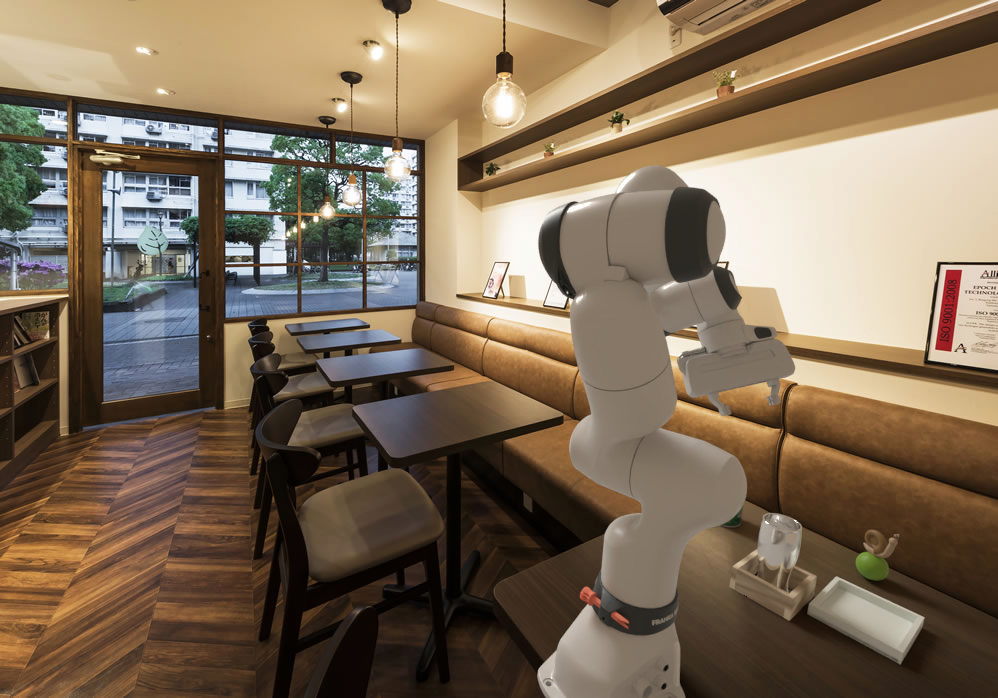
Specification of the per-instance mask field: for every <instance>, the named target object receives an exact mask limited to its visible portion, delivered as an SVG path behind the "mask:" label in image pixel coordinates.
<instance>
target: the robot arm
mask: <svg viewBox="0 0 998 698" xmlns="http://www.w3.org/2000/svg"><path fill="white" fill-rule="evenodd" d="M725 221H726V220H725V216H724V214H723V212H722V209H721V205H720V202H719V200H718V199H717V197H715V196H714V194H712V193H710V192H709V191H708V190H706V189H705V188H698V187H692V186H689V185H688V184H687V183H686V182H685V181H684V179H682V177H680V176H679V175H678V174H677V173H676V172H675V171H674V170H673V169H671V168H668V167H666V166H663V165H646V166H643V167H640V168H637V169H636V170H633V172H631V173H630V174H628V175H627V176H626V177H625V178H623V180H622V181H621V182H620V184H619V185H618V187H617V189H616V190H615V193H611V194H606V195H605V194H604V195H600V196H596V197H592V198H589V199H585V200H582V201H580V202H579V201H569V202H567V203H563V204H562V205H560V206H557V207H555V208H553V209H551V210H550V211H548V212H547V214H546V216H545V217H544V220H543V221H542V224H541V227H540V229H539V232H538V239H537V244H538V246H537V247H538V253H539V258H540V261H541V264H542V266H543V268H544V270H545V272H546V274H547V275H548V277H549V278H550V279H551V281H553V283H555V285H556V287H557V289H558V290H559V292H560V293H562V295H563V296H565V297H566V298H569V299H570V300H572V302H571V303H570V304H571V305H570V309H569V320H570V321H569V323H570V333H571V339H572V347H573V352H574V357H575V360H576V364H577V368H578V371H579V373H580V375H579V376H580V377H581V381H582V384H583V387H584V391H585V395H586V398H587V401H588V406H589V408H590V414H588V415H587V416H585V417H584V418H582V419H581V420H580V421H579V422H578V424H577V425H576V426H575V427H574V429H573V431H572V433H571V436H570V438H569V439H570V440H569V445H568V448H569V449H568V450H569V457H570V460H571V463H572V466H573V467H574V468H575V469H576V470H577V471H578V472H579V473H581V474H583V476H585V477H586V478H588V479H590V480H591V481H593V482H594V483H596V484H597V485H599V486H602V487H604V488H607V489H609V490H611V491H614V492H616V493H619V494H621V495H623V496H626V497H628V498H631V499H633V500H636V501H637V502H639V504H640V505H641V512H636V513H629V514H625V515H621V516H619V517H617V518H615V519H613V521H612V522H611V523H610V524H609V525H608V527H607V529H606V530H605V532H604V534H603V535H604V536H603V547H602V548H603V549H602V558H601V559H602V560H601V569H600V570H599V571H598V575H597V577H596V579H595V582H594V587H593V588H592V589H591V588H590V587H588V586H584V587H583V588H582V589H581V591H580V592H579V593H580V594H579V598H580V600H582V601H583V602H585V603H587V604H586V605H585V607H584V608H583V609H582V610H581V611H580V613H579V614H578V616H577V617H576V618H575V620H574V621H573V622H572V624H571V625H570V626H569V628H568V629H567V630H566V631H565V633H564V634H563V635H562V637H561V638H560V640H559V642H558V644H557V648H556V649H555V651H554V652H553V653H552V654H551V655H550V656H549V657H548V658H547V659H546V660H545V661H544V662H543V663H542V665H540V667H539V668H538V670H537V682H538V684H539V688H540V690H541V692H542V694H543V695H544V697H545V698H686V695H685V692H684V690H683V687H682V686H681V685H682V684H681V683H680V678H681V677H680V673H681V646H680V645H681V644H680V641H679V637H678V634H677V633H678V632H677V629H676V625H675V621H676V618H677V616H678V615H677V614H678V611H679V603H680V600H679V590H678V587H677V586H678V579H679V578H678V577H679V572H680V567H681V562H682V558H683V555H684V551H685V549H686V546H687V545H688V544H689V542H691V540H692V539H694V537H695V536H697V534H700V533H701V532H703V531H705V530H708V529H711V528H714V527H719V526H720V525H722V524H724V523H726V522H728V521H729V520H731V519H732V518H733V517H734V516H735V515H736V514H737V513H738V512H739V511H740V509H741V508H742V506H743V507H744V504H745V501H746V499H747V492H748V491H747V490H748V481H747V475H746V472H745V469H744V468H743V465H742V464H741V462H740V460H739V459H738V457H737V456H735V455H733V454H731V453H729V452H728V451H726V450H724V449H722V448H721V447H718V446H716V445H714V444H712V443H710V442H708V441H706V440H702V439H700V438H696V437H694V436H690V435H686V434H682V433H678V432H675V431H672V430H668V429H664V428H662V427H663V426H664V425H665V424H667V423H668V422H669V421H670V419H671V418H672V416H673V414H674V412H675V410H676V407H677V402H678V393H677V388H676V383H675V382H676V381H675V376H674V371H673V366H672V361H671V355H670V350H669V347H668V341H667V338H666V337H669V336H671V335H673V334H675V333H678V332H680V331H682V330H685V329H688V328H691V327H693V326H696V333H697V336H698V339H699V342H700V345H701V347H698V348H694V349H691V350H685V351H683V352H681V354H679V355H678V357H677V358H676V364H677V366H678V368H679V369H678V370H679V371H680V373H682V378H683V379H682V380H683V385H684V387H685V391H686V395H688V396H689V397H690V398H692V399H696V398H700V397H704V396H707V399H708V401H709V402H710V403H711V404H712V405H713V406H714V407H716V408H717V409H718V412H719V415H720V416H721V417H724V416H725V417H726V416H729V415H732V411H731V407H730V404H724V403H723V402H722V401H721V400H720V399H719V398H720V394H719V393H722V392H727V391H731V390H736V389H740V388H745V387H749V386H755V385H759V384H763V383H766V385H767V387H768V388H771V389H770V393H769V394H770V395H768V396H766V401H768V405H769V406H775V405H779V404H781V403H782V401H781V398H780V395H779V393H780V388H781V382H780V380H782V379H785V378H788V377H790V376H792V375H794V373H795V371H796V365H795V362H794V360H793V357H792V355H791V354H790V352H789V350H788V348H787V346H786V344H785V343H783V342H782V341H781V340H780V339H777V336H778V331H777V329H776V328H775V327H774V326H768V325H767V326H766V325H765V326H764V325H755V324H754V325H753V324H746V322H745V320H744V318H743V317H742V316H741V314H740V313H739V311H738V307H739V305H740V304H741V301H742V299H743V297H742V296H741V294H740V292H739V289H738V285H737V283H736V280H735V277H734V274H733V271H731V270H729V269H727V268H724V267H722V266H718V265H719V261H720V257H721V255H722V252H723V250H724V247H725V243H726V236H727V230H726V229H727V228H726V222H725Z"/></svg>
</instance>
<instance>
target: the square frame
mask: <svg viewBox="0 0 998 698" xmlns="http://www.w3.org/2000/svg"><path fill="white" fill-rule="evenodd" d="M758 568H759V563H758V547H757V548H756V549H754V550H753V551H751V552H750V553H749V554H748V555H746V556H745V557H744V558H742V559H740V560H739V561H738V562H736V563H735V564H733V565H732V566H731V572H730V579H729V588H730V589H732V590H734V591H736V592H737V593H738V594H741V595H742V596H744V595H745V596H744V597H746V596H747V597H746V598H748V599H749V600H751V601H753V602H755V603H757V604H759V605H760V606H762V607H764V608H766V609H768V610H769V611H771V612H773V613H775V614H776V615H778V616H780V617H782V618H783V619H785V620H787V621H789V622H790V621H791V620H792V619H793V618H794V617H795V616H796V615H797V614H798V613H799V612H800V611H801V610H802V609H803V608H804V607H805V606H806V605H807V604H809V603H810V602H811V601H812V600H813V599H814V596H815V592H816V586H817V585H816V584H817V579H818V576H817V575H816V574H813V573H812V572H810V571H807V570H806V569H803V568H801V567H799V566H796V565H795V567H794V569H793V571H792V574H791V576H790V579H789V587H788V588H789V589H791V591H789V593H788V592H786V591H784V590H782V589H780V588H778V587H776V586H774V585H772V584H770V583H769V582H767V581H765V580H763V579H761V578H759V577H757V575H755V574H757V573H758Z"/></svg>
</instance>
